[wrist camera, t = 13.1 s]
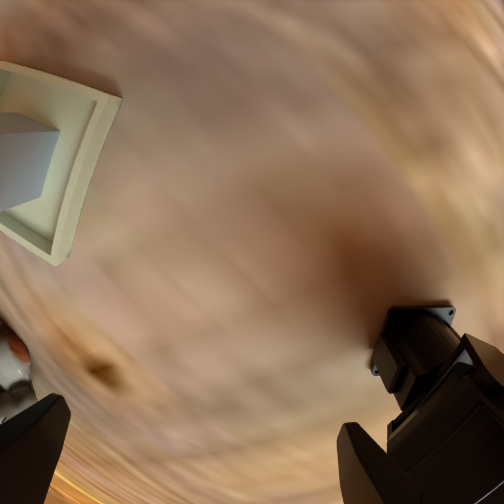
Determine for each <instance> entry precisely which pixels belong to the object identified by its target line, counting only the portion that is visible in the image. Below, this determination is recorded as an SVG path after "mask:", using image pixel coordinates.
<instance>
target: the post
mask: <svg viewBox="0 0 504 504" xmlns="http://www.w3.org/2000/svg"><path fill="white" fill-rule="evenodd" d="M60 132H61V131H58V130H56V129H54V128H52V127H49V126H47V125H45V124H43V123H40V122H38V121H36V120H34V119H31V118H29V117H27V116H24V115H22V114H20V113H0V212H2V211H5V210H7V209H10V208H13V207H15V206H18V205H21V204H23V203H26V202H29V201H32V200H34V199H37V198H40V197H41V195H42V191H43V187H44V183H45V179H46V176H47V172H48V169H49V165H50V162H51V159H52V155H53V152H54V149H55V146H56V143H57V140H58V137H59V134H60Z"/></svg>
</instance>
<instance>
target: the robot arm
mask: <svg viewBox="0 0 504 504" xmlns="http://www.w3.org/2000/svg"><path fill="white" fill-rule="evenodd" d="M395 312H396V314H395V315H393V314H394V313H395ZM455 312H456V309H455V308H454V307H453V306H452V305H438V306H408V307H392V308H391V309H390V310H389V311H388V313H387V317H386V321H385V324H384V328H383V331H382V333H381V334H380V336H379V340H378V343H377V346H376V350H375V353H374V356H373V364H372V367H371V372H372V375H374V376H380V377H381V379H382V381H383V383H384V386H385V388H386V390H387V392H388V393H389V394H392V393H393V394H394V396H395V398H396V400H397V403H398V405H399V407H400V409H401V411H402V412H401V414H400V415H399V416H398V417H397V418H396V419H395V420H392V421H391V422H390V423H389V424H388V425H387V453H386V452H385V451H384V450H383V449H382V448H381V447H380V446H379V445H378V444H377V443H376V442H375V441H374V440H373V439H372V438H371V437H370V436H369V434H368V433H367V432H366V431H365V430H364V429H363V428H362V427H361V426H360V425H359V424H358V423H357V422H347V423H344V424H343V425H342V427H341V430H340V432H339V435H338V437H337V454H338V466H339V479H340V487H341V492H342V497H343V502H344V504H504V354H503V353H502V352H500V351H499V350H498V349H497V348H496V347H494V346H492V345H490V344H488V343H486V342H484V341H481V340H479V339H477V338H475V337H473V336H471V335H469V334H466V333H464V335H463V336H462V338H461V337H460V336H459V335H458V334H457V332H456V331H455V330H454V329H453V328H452V327H451V324H452V321H453V318H454V315H455ZM392 315H393V316H392ZM376 370H377V371H376ZM70 418H71V412H70V409H69V407H68V405H67V403H66V401H65V399H64V397H63V396H62V395H59V394H56V393H51V394H49V395H48V396H46V397H44V398H43V399H41V400H40V401H38V402H36V403H35V404H33V405H31V406H30V407H28V408H26V409H25V410H23V411H21V412H20V413H18V414H17V415H15V416H13V417H12V418H10V419H8V420H7V421H5V422H3V423H2V424H0V504H44V501H45V498H46V495H47V492H48V489H49V486H50V483H51V480H52V477H53V474H54V471H55V468H56V466H57V463H58V460H59V457H60V455H61V452H62V448H63V444H64V440H65V436H66V433H67V429H68V425H69V422H70Z"/></svg>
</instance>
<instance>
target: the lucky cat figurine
mask: <svg viewBox="0 0 504 504" xmlns="http://www.w3.org/2000/svg"><path fill="white" fill-rule="evenodd" d="M36 402H38V401H37V398H36V394H35V391H34V388H33V385H32V380H31V375H30V356H29V353H28V350H27V347H26V345H25V344H24V343H23V342H22V341H21V340H20V339H19V338H18V337H17V336H16V335H15V334H14V333H13V331H12V330H11V329H10V328H9V327H8V326H7V325H4V324H2V323H1V322H0V424H2V423H3V422H5V421H7V420H8V419H10V418H12V417H13V416H15V415H17V414H18V413H20V412H21V411H23V410H25V409H26V408H28V407H30V406H31V405H33V404H35V403H36Z"/></svg>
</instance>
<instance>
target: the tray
mask: <svg viewBox="0 0 504 504" xmlns="http://www.w3.org/2000/svg"><path fill="white" fill-rule="evenodd" d="M122 100H123V99H122V98H120V97H117V96H114V95H112V94H109V93H106V92H104V91H101V90H98V89H95V88H93V87H90V86H87V85H84V84H81V83H78V82H75V81H72V80H69V79H66V78H63V77H60V76H57V75H54V74H50V73H47V72H44V71H40V70H37V69H34V68H30V67H27V66H23V65H19V64H16V63H11V62H6V61H1V60H0V113H20V114H22V115H24V116H27V117H29V118H31V119H34V120H36V121H38V122H40V123H43V124H45V125H47V126H49V127H52V128H54V129H56V130H58V131H61V132H60V134H59V137H58V140H57V143H56V146H55V149H54V152H53V155H52V159H51V162H50V165H49V169H48V172H47V176H46V179H45V183H44V187H43V191H42V195H41V197H40V198H37V199H34V200H32V201H29V202H26V203H23V204H21V205H18V206H15V207H13V208H10V209H7V210H5V211H2V212H0V230H1V231H2V232H3V233H5V234H6V235H8V236H9V237H11V238H12V239H14V240H15V241H16V242H18V243H19V244H21V245H22V246H24V247H25V248H27V249H28V250H30V251H31V252H33V253H35V254H36V255H38V256H39V257H41V258H42V259H44V260H46V261H47V262H49V263H50V264H52V265H54V266H55V267H56V266H57V265H58V264H60V263H61V262H62V261H64V260H65V259H67V258H68V257H69V255H70V251H71V247H72V243H73V239H74V235H75V231H76V227H77V223H78V220H79V216H80V213H81V209H82V206H83V202H84V199H85V196H86V193H87V190H88V187H89V184H90V181H91V178H92V175H93V172H94V169H95V166H96V163H97V161H98V158H99V155H100V152H101V150H102V147H103V145H104V142H105V140H106V137H107V135H108V132H109V130H110V127H111V125H112V123H113V120H114V118H115V116H116V113H117V111H118V109H119V107H120V105H121V102H122Z"/></svg>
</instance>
